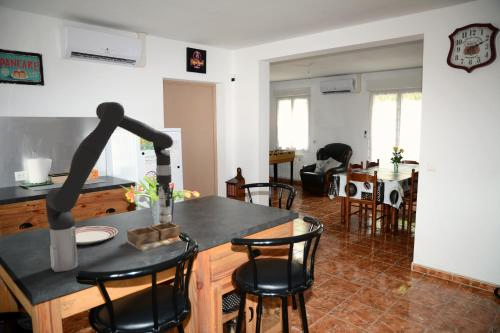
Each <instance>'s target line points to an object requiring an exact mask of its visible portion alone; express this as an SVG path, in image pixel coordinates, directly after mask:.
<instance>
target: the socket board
mask: <svg viewBox="0 0 500 333" xmlns="http://www.w3.org/2000/svg"><path fill="white" fill-rule="evenodd" d="M126 233H127V234H126V240H125V241H126V243H128V244H129V245H132V247H134V248H136V249H138V250H140V251H141V252H144V251H148V250H152V249H156V248H160V247H165V246H169V245H172V244H176V243H180V242H183V241H182V240H181V239H180V238H179V234H180V233H181V234H182V226H181V225H178V224H176V223H173V222H172V221H171V222H170V223H168V224H161V223H158V224H153V225H150V226H144V227H139V228H134V229H128V230H127V231H126Z"/></svg>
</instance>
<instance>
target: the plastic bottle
mask: <svg viewBox="0 0 500 333" xmlns="http://www.w3.org/2000/svg"><path fill="white" fill-rule="evenodd" d="M162 187H164V186H161V188H162ZM166 194H167V193H166ZM170 197H171V195H170ZM157 198H158V202H159V203H158V204H159V215H158V223H159V224H168V223H170V222H171V223H172V219H173V218H172V213H171V212H172V211H171V206H170V207H166V201H165V200H166V199H165V196H164V195H163V191H162V189H161V191H160V193H159V195H158V196H157ZM171 201H172V199H170V203H172V202H171Z"/></svg>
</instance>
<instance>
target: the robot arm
mask: <svg viewBox="0 0 500 333" xmlns="http://www.w3.org/2000/svg"><path fill="white" fill-rule="evenodd" d="M95 113H96V117H97V119H98V120H99V122H98V124H97V126H95V128H94V129H93V130H92V131H91V132H90V133H89V134H88V135H87V136H86V137H85V138H84V139H83V140H82V141H81V142H79V145H78V147H77V148H76V150H75V152H74V154H73V156H72V159H71V162H70V168H69V171H68V175H67V177H66V179H65V181H64V183H62V186H61V187H55V188H52V189H50V190H49V191H48V192H47V194H46V197H45V210H46V218H47V222H48V224H49V232H50V234H49V235H50V245H49V252H50V253H49V254H50V264H51V267H50V268H51V269H52V270H53V272H54V273H58V272H65V271H66V272H67V271H71V270H74V269H76V268H77V267H78V265H79V264H78V263H79V262H78V248H77V244H76V230H75V229H76V220H75V218H74V216H73V214H72V210H73V209H74V207H75V206H76V204H77V202H78V200H79V197H80V195H81V192H82V190H83V188H84V185H85V184H86V182H87V181H88V179H89V176H91V175H90V174H91V173H92V171H93V170H94V167H95V166H96V165H97V162H98V161H99V159H100V157H101V155H102V153H103V151H104V150H105V148H106V146H107V144H108V142H109V141H110V139H111V137H112V135H113V134H114V132H115V130H116V129H117V128H121V129H123V130H125V131H127V132H129V133H131V134H133V135H135V136H137V137H139V138H141V139H143V140H144V141H145V142H149V143H152V147H153V151H154V154H155V159H156V162H155V163H156V169H155V173H156V176H155V177H156V185H155V192H156V197H158V195H159V193H160V191H161V189H162V191H163V195H164V196H165V199H166V200H165V201H166V207H170V208H171V202H170V199H171V200H172V199H173V198H174V197H173V196H174V187H171V186H170V183H172V182H173V181H172V180H173V179H172V166H171V154H170V153H168V152H167V151H166V149H170V148H172V146H173V144H174V140H173V138H172V136H171V135H169V134H168V133H165V132H163V131H160V130H157V129H155V128H154V127H152V126H150V125H149V124H146V123H145V122H143V121H140V120H137V119H135V118H132V117H130V116H128V115H125V107H124V105H123V104H122V103H120V102H116V101H104V102H102V103H100V104H98V105H97V107H96V110H95ZM161 186H164V187H162V188H161ZM166 193H167V194H166ZM170 195H171V197H170Z"/></svg>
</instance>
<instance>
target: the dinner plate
mask: <svg viewBox="0 0 500 333" xmlns="http://www.w3.org/2000/svg"><path fill="white" fill-rule="evenodd" d="M75 230H76V245H92V244H96V243H100V242H103V241H105V240H108V239H110V238H113V237H115V236H116V235H117V234H118V232H119V231H118V229H117V228H115V227H111V226H105V225H94V226H83V227H77V228H76V227H75Z"/></svg>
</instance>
